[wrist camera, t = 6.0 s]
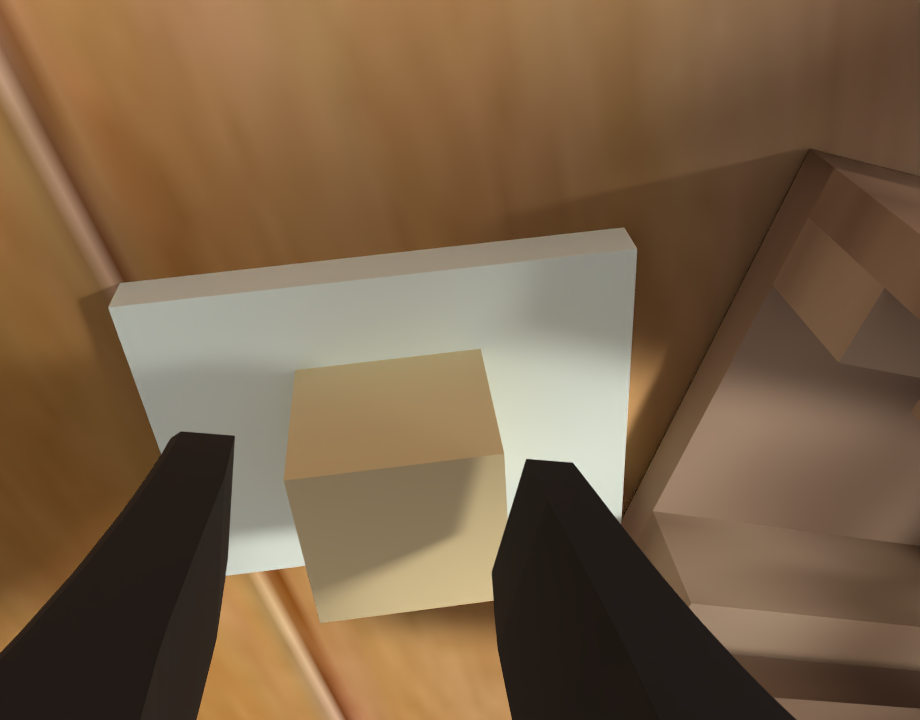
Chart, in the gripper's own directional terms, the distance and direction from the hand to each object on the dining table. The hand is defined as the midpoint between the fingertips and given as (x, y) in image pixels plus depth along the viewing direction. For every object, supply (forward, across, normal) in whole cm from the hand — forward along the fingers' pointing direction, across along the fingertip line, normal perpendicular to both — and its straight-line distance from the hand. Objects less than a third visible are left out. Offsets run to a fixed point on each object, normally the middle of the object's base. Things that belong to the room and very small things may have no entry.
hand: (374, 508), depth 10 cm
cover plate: (+5, -1, +2) cm, 5 cm away
